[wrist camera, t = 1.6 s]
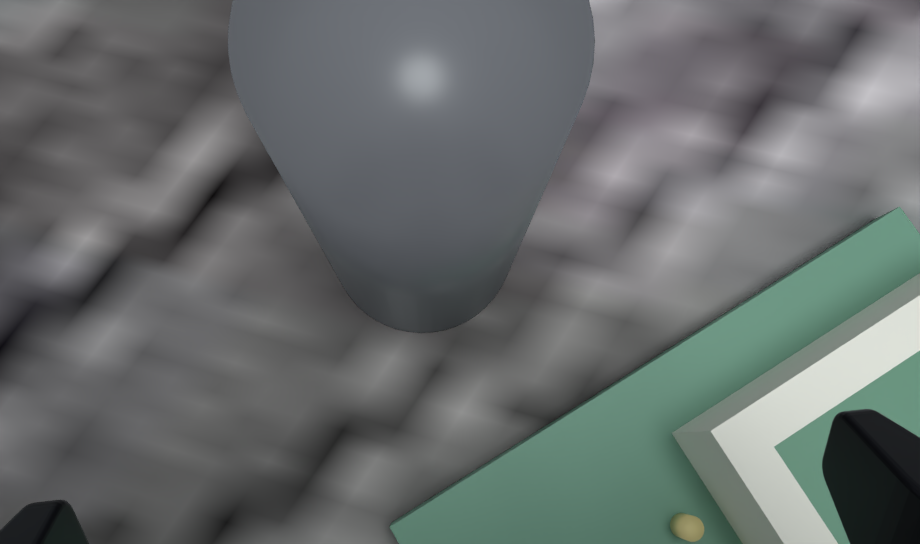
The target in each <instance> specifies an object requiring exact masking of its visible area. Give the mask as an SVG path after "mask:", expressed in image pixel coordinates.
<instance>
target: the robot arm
mask: <svg viewBox="0 0 920 544" xmlns="http://www.w3.org/2000/svg"><path fill="white" fill-rule="evenodd" d="M822 471H823V476H824V479H825V482H826V485H827V487H828V490H829V492H830V495H831V497H832V500H833V502H834V505H835V507H836V510H837V512H838V515H839V518H840V520H841V523H842V525H843V528H844V530H845V533H846V535H847V538H848V540H849V543H850V544H920V437H918V436H917V435H915V434H914V433H912V432H910V431H909V430H907V429H905V428H904V427H902V426H900V425H899V424H897V423H896V422H894V421H892V420H891V419H889V418H887V417H886V416H884V415H882V414H881V413H879V412H877V411H875V410H872V409H860V410H851V411H842V412H839V413H838V414H837V415H836V416H835V417H834V419H833V421H832V425H831V428H830V432H829V436H828V440H827V443H826V447H825V451H824V454H823V459H822ZM0 544H89V543H88V540H87V538H86V536H85V534H84V532H83V530H82V527H81V525H80V523H79V521H78V519H77V517H76V515H75V512H74V510H73V508H72V507H71V505H70V504H69V503H68V502H67V501H65V500H54V501H45V502H37V503H32V504H29V505H27V506H26V507H24V508H23V509H22V510H21V511H20V512H19V513H18V514H17V515H16V516H14V517H13V518H12V519H11V520H10V521H9V522H8V523H7V524H6V525H5V526H4V527H3V528H2V529H1V530H0Z"/></svg>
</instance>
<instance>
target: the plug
mask: <svg viewBox="0 0 920 544" xmlns="http://www.w3.org/2000/svg"><path fill="white" fill-rule="evenodd" d="M594 46H595V36H594V25H593V16H592V12H591V7H590V3H589V0H233V3H232V8H231V14H230V21H229V27H228V52H229V60H230V67H231V73H232V77H233V80H234V84H235V87H236V91H237V94H238V96H239V99H240V101H241V103H242V105H243V108H244V110H245V112H246V115H247V116H248V118H249V120H250V122H251V123H252V125H253V127H254V129H255V131H256V132H257V134H258V136H259V138H260V139H261V141H262V143H263V145H264V147H265V148H266V150H267V152H268V154H269V155H270V157H271V159H272V161H273V163H274V164H275V166H276V168H277V170H278V171H279V173H280V175H281V177H282V179H283V180H284V182H285V184H286V186H287V188H288V189H289V191H290V193H291V195H292V196H293V198H294V200H295V202H296V204H297V205H298V207H299V209H300V211H301V212H302V214H303V216H304V218H305V220H306V221H307V223H308V225H309V227H310V228H311V230H312V232H313V234H314V236H315V237H316V239H317V241H318V243H319V244H320V246H321V248H322V250H323V252H324V253H325V255H326V257H327V259H328V261H329V262H330V264H331V266H332V268H333V269H334V271H335V273H336V275H337V277H338V278H339V280H340V282H341V284H342V285H343V287H344V289H345V290H346V292H347V294H348V295H349V296H350V298H351V299H352V300H353V301H354V302H355V304H356V305H357V306H358V307H359V308H360V309H362V310H363V311H364V312H365V313H366V314H368V315H369V316H370V317H372V318H373V319H375V320H377V321H379V322H380V323H382V324H384V325H387V326H389V327H392V328H395V329H398V330H403V331H407V332H417V333H426V332H436V331H442V330H446V329H449V328H453V327H456V326H458V325H460V324H462V323H464V322H466V321H468V320H470V319H471V318H473V317H474V316H476V315H477V314H478V313H480V312H481V311H482V310H483V309H484V308H486V306H487V305H488V304H489V303H490V302H491V301H492V300H493V299H494V297H495V296H496V294H497V293H498V292H499V290H500V288H501V286H502V285H503V283H504V281H505V279H506V276H507V274H508V272H509V269H510V267H511V265H512V263H513V260H514V258H515V256H516V253H517V251H518V249H519V247H520V244H521V242H522V240H523V238H524V235H525V233H526V231H527V228H528V226H529V224H530V222H531V219H532V217H533V215H534V212H535V210H536V208H537V206H538V203H539V201H540V199H541V196H542V194H543V192H544V190H545V187H546V185H547V183H548V181H549V178H550V176H551V174H552V171H553V169H554V167H555V165H556V162H557V160H558V158H559V155H560V153H561V151H562V149H563V146H564V144H565V142H566V139H567V137H568V135H569V133H570V130H571V128H572V126H573V124H574V121H575V119H576V117H577V114H578V112H579V110H580V108H581V105H582V103H583V100H584V97H585V94H586V91H587V88H588V86H589V82H590V77H591V72H592V67H593V62H594Z"/></svg>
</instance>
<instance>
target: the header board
mask: <svg viewBox="0 0 920 544" xmlns="http://www.w3.org/2000/svg"><path fill="white" fill-rule="evenodd" d="M860 409H872V410H875V411H877V412H879V413H881V414H882V415H884V416H886V417H887V418H889V419H891V420H892V421H894V422H896V423H897V424H899V425H900V426H902V427H904V428H905V429H907V430H909V431H910V432H912V433H914V434H915V435H917V436H918V437H920V234H919V232H918V231H917V230H916V228H915V227H914V226H913V224H912V223H911V221H910V220H909V219H908V217H907V216H906V215H905V213H904V212H903V211H902V209H901V208H900V207H898V208H896V209H894V210H892V211H890V212H888V213H886V214H884V215H882V216H880V217H878V218H876V219H875V220H873V221H872V222H870V223H868V224H867V225H865V226H864V227H862V228H861V229H859V230H857V231H856V232H854V233H853V234H851V235H849V236H848V237H846V238H845V239H843V240H841V241H840V242H838V243H837V244H835V245H833V246H832V247H830V248H829V249H827V250H825V251H824V252H822V253H821V254H819V255H817V256H816V257H814V258H813V259H811V260H810V261H808V262H806V263H805V264H803V265H802V266H800V267H798V268H797V269H795V270H794V271H792V272H790V273H789V274H787V275H786V276H784V277H782V278H781V279H779V280H778V281H776V282H774V283H773V284H771V285H770V286H768V287H766V288H765V289H763V290H762V291H760V292H759V293H757V294H755V295H754V296H752V297H751V298H749V299H747V300H746V301H744V302H743V303H741V304H739V305H738V306H736V307H735V308H733V309H731V310H730V311H728V312H727V313H725V314H723V315H722V316H720V317H719V318H717V319H715V320H714V321H712V322H711V323H709V324H707V325H706V326H704V327H703V328H701V329H700V330H698V331H696V332H695V333H693V334H692V335H690V336H688V337H687V338H685V339H684V340H682V341H680V342H679V343H677V344H676V345H674V346H672V347H671V348H669V349H668V350H666V351H664V352H663V353H661V354H660V355H658V356H656V357H655V358H653V359H652V360H650V361H649V362H647V363H645V364H644V365H642V366H641V367H639V368H637V369H636V370H634V371H633V372H631V373H629V374H628V375H626V376H625V377H623V378H621V379H620V380H618V381H617V382H615V383H613V384H612V385H610V386H609V387H607V388H605V389H604V390H602V391H601V392H599V393H598V394H596V395H594V396H593V397H591V398H590V399H588V400H586V401H585V402H583V403H582V404H580V405H578V406H577V407H575V408H574V409H572V410H570V411H569V412H567V413H566V414H564V415H562V416H561V417H559V418H558V419H556V420H554V421H553V422H551V423H550V424H548V425H547V426H545V427H543V428H542V429H540V430H539V431H537V432H535V433H534V434H532V435H531V436H529V437H527V438H526V439H524V440H523V441H521V442H519V443H518V444H516V445H515V446H513V447H511V448H510V449H508V450H507V451H505V452H503V453H502V454H500V455H499V456H497V457H496V458H494V459H492V460H491V461H489V462H488V463H486V464H484V465H483V466H481V467H480V468H478V469H476V470H475V471H473V472H472V473H470V474H468V475H467V476H465V477H464V478H462V479H460V480H459V481H457V482H456V483H454V484H452V485H451V486H449V487H448V488H446V489H444V490H443V491H441V492H440V493H438V494H437V495H435V496H433V497H432V498H430V499H429V500H427V501H425V502H424V503H422V504H421V505H419V506H417V507H416V508H414V509H413V510H411V511H409V512H408V513H406V514H405V515H403V516H401V517H400V518H398V519H397V520H395V521H393V522H392V523H391V525H390V529H391V530H392V532H393V534H394V536H395V538H396V539H397V541H398V543H399V544H850V543H849V540H848V538H847V535H846V533H845V530H844V528H843V525H842V523H841V520H840V518H839V515H838V512H837V510H836V507H835V505H834V502H833V500H832V497H831V495H830V492H829V490H828V487H827V485H826V482H825V479H824V476H823V471H822V459H823V454H824V451H825V447H826V443H827V440H828V436H829V432H830V428H831V425H832V421H833V419H834V417H835V416H836V415H837V414H838V413H839V412H842V411H851V410H860Z"/></svg>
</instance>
